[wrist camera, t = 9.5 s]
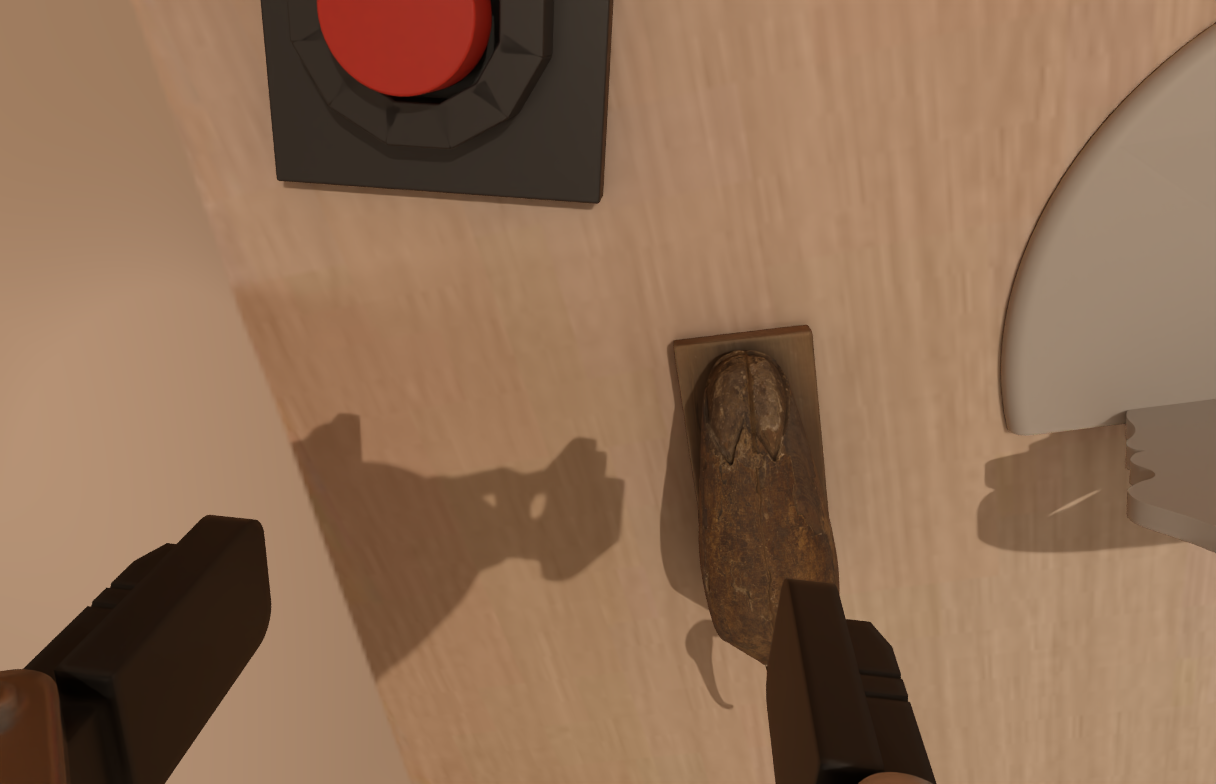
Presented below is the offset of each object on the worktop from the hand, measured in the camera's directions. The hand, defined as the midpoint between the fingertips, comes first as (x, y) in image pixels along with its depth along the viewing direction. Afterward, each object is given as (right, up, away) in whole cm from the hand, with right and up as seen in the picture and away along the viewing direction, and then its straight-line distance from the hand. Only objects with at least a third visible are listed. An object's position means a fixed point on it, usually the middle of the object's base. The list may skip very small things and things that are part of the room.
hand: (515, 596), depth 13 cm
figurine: (+7, -1, +18) cm, 19 cm away
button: (-4, +13, +10) cm, 17 cm away
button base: (-3, +14, +12) cm, 19 cm away
